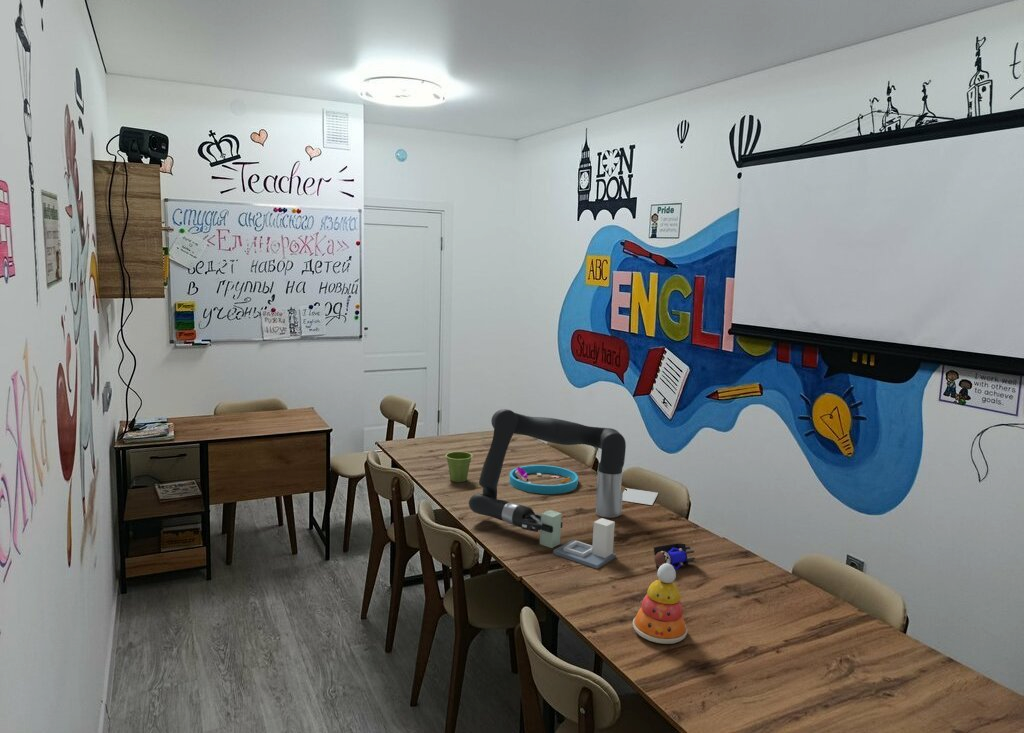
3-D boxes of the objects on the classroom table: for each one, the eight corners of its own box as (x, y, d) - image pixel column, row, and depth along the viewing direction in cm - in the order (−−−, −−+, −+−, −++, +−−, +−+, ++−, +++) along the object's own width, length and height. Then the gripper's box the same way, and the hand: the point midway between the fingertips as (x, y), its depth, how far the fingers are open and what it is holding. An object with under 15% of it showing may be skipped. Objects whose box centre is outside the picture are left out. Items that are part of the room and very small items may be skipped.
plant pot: (444, 475, 312) (445, 451, 310) (471, 476, 314) (472, 451, 312) (444, 484, 301) (445, 458, 299) (472, 484, 302) (473, 459, 300)
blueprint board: (572, 543, 243) (573, 536, 243) (615, 557, 233) (616, 550, 233) (553, 553, 234) (553, 546, 234) (597, 568, 224) (597, 561, 223)
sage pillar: (548, 539, 245) (549, 509, 244) (560, 543, 242) (561, 513, 241) (539, 544, 241) (541, 513, 240) (551, 548, 238) (553, 517, 237)
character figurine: (698, 569, 227) (659, 576, 221) (684, 558, 234) (646, 565, 228) (700, 547, 226) (662, 553, 220) (686, 537, 232) (648, 543, 226)
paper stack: (595, 498, 292) (595, 496, 292) (608, 481, 315) (608, 479, 315) (652, 506, 284) (652, 505, 284) (661, 488, 307) (661, 487, 307)
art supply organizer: (514, 470, 325) (514, 458, 324) (579, 476, 321) (579, 463, 320) (504, 491, 296) (505, 478, 295) (575, 497, 292) (576, 483, 291)
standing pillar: (599, 549, 236) (601, 518, 234) (612, 553, 233) (614, 521, 231) (591, 553, 232) (593, 522, 230) (605, 558, 229) (607, 526, 227)
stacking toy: (627, 640, 182) (632, 569, 179) (637, 615, 195) (642, 548, 192) (683, 652, 177) (689, 580, 174) (690, 626, 190) (695, 558, 188)
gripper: (505, 510, 243) (545, 522, 233) (530, 500, 255) (569, 511, 244) (504, 530, 244) (544, 544, 234) (529, 519, 256) (568, 532, 245)
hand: (557, 527), depth 239 cm, fingers closed on sage pillar, 5 cm apart
